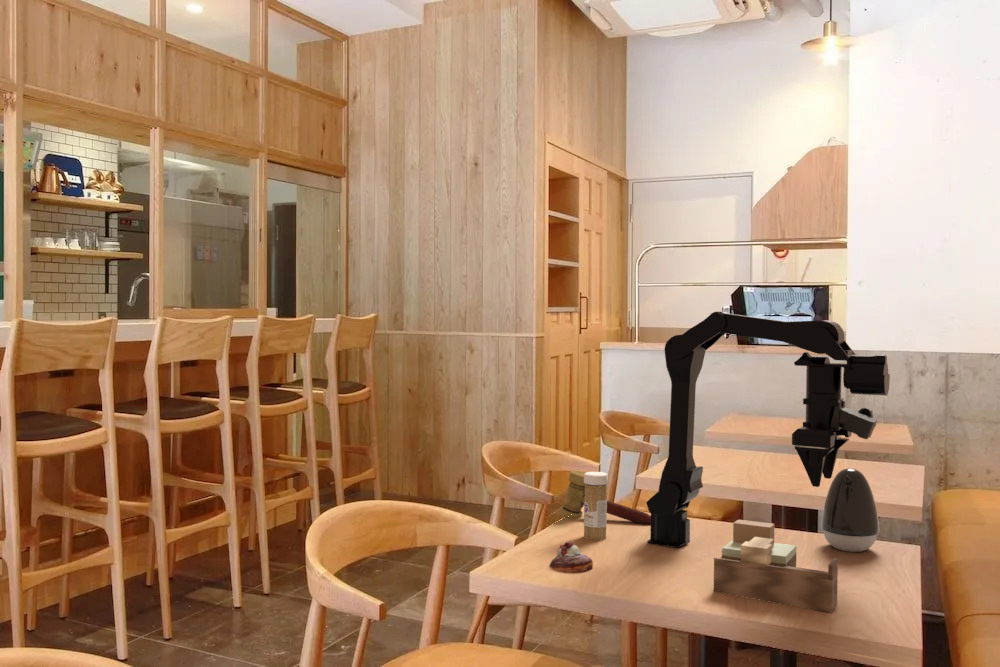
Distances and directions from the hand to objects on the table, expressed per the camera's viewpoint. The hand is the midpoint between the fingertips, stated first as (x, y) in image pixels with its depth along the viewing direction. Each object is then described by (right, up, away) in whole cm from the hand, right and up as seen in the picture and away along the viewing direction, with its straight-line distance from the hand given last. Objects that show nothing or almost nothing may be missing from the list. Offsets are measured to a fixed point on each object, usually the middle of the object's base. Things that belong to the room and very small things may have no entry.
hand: (822, 482), depth 153 cm
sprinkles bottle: (-38, -15, +17) cm, 44 cm away
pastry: (-44, -15, -2) cm, 46 cm away
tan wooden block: (-15, -10, -14) cm, 23 cm away
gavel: (-34, -16, +32) cm, 49 cm away
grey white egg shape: (+10, -15, +14) cm, 23 cm away
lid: (-14, -10, -10) cm, 19 cm away
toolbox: (-12, -15, -13) cm, 23 cm away
